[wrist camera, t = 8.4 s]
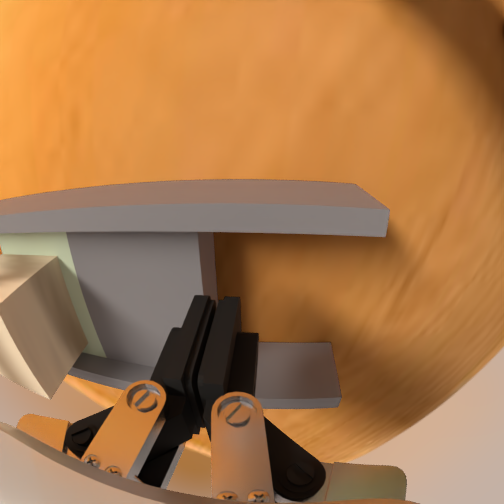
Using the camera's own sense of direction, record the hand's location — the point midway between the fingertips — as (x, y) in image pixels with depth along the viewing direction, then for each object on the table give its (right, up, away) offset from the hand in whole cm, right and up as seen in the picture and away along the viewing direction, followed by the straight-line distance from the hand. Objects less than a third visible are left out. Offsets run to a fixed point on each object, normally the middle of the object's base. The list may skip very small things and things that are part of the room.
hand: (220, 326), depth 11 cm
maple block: (-12, 0, +3) cm, 12 cm away
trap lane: (-8, +2, +5) cm, 10 cm away
